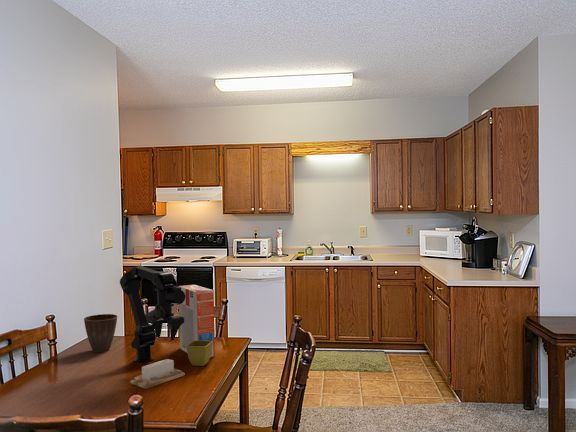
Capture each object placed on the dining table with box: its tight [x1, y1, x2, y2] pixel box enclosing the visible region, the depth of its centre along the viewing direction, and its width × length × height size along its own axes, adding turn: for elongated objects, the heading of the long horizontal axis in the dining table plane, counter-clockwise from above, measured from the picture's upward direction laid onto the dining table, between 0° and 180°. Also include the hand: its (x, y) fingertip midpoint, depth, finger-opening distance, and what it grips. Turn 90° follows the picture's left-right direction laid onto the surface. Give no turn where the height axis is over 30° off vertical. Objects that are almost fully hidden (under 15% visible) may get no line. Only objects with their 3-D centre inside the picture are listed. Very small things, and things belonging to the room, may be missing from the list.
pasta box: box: [178, 284, 216, 359], centre depth 219 cm, size 23×8×30 cm, turn 33°
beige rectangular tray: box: [129, 368, 186, 389], centre depth 183 cm, size 10×18×3 cm, turn 142°
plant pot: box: [83, 313, 118, 353], centre depth 225 cm, size 15×15×16 cm
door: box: [141, 358, 175, 381], centre depth 184 cm, size 4×12×5 cm, turn 142°
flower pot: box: [186, 340, 213, 367], centre depth 201 cm, size 9×9×9 cm
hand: (165, 338), depth 198 cm, fingers open, 9 cm apart
